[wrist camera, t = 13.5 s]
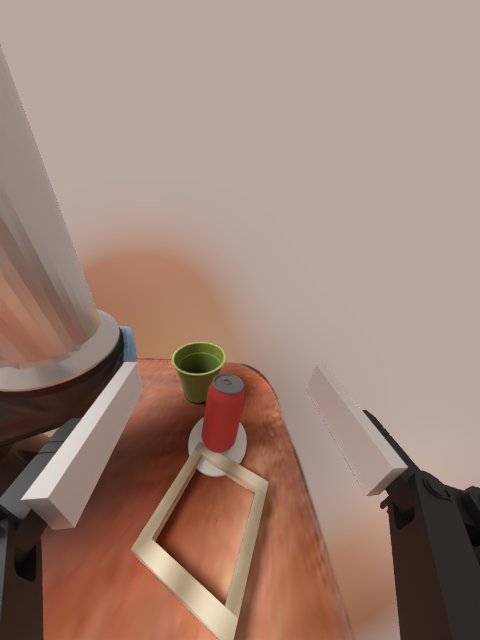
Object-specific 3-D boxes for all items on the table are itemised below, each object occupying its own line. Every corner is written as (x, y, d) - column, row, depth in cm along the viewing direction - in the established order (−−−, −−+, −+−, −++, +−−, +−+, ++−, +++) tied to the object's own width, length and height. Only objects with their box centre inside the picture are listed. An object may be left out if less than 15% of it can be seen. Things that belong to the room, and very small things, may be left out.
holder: (134, 554, 20) (131, 548, 20) (199, 447, 31) (199, 441, 30) (229, 651, 16) (231, 649, 15) (266, 488, 27) (268, 481, 26)
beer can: (222, 417, 36) (231, 368, 34) (242, 441, 32) (255, 386, 29) (194, 432, 32) (202, 377, 29) (213, 463, 27) (225, 400, 25)
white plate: (175, 456, 30) (174, 453, 29) (209, 407, 39) (209, 404, 39) (230, 492, 26) (230, 490, 26) (254, 429, 35) (254, 426, 35)
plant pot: (168, 413, 37) (163, 373, 32) (181, 374, 47) (179, 340, 43) (222, 413, 38) (225, 375, 33) (223, 375, 49) (226, 342, 44)
